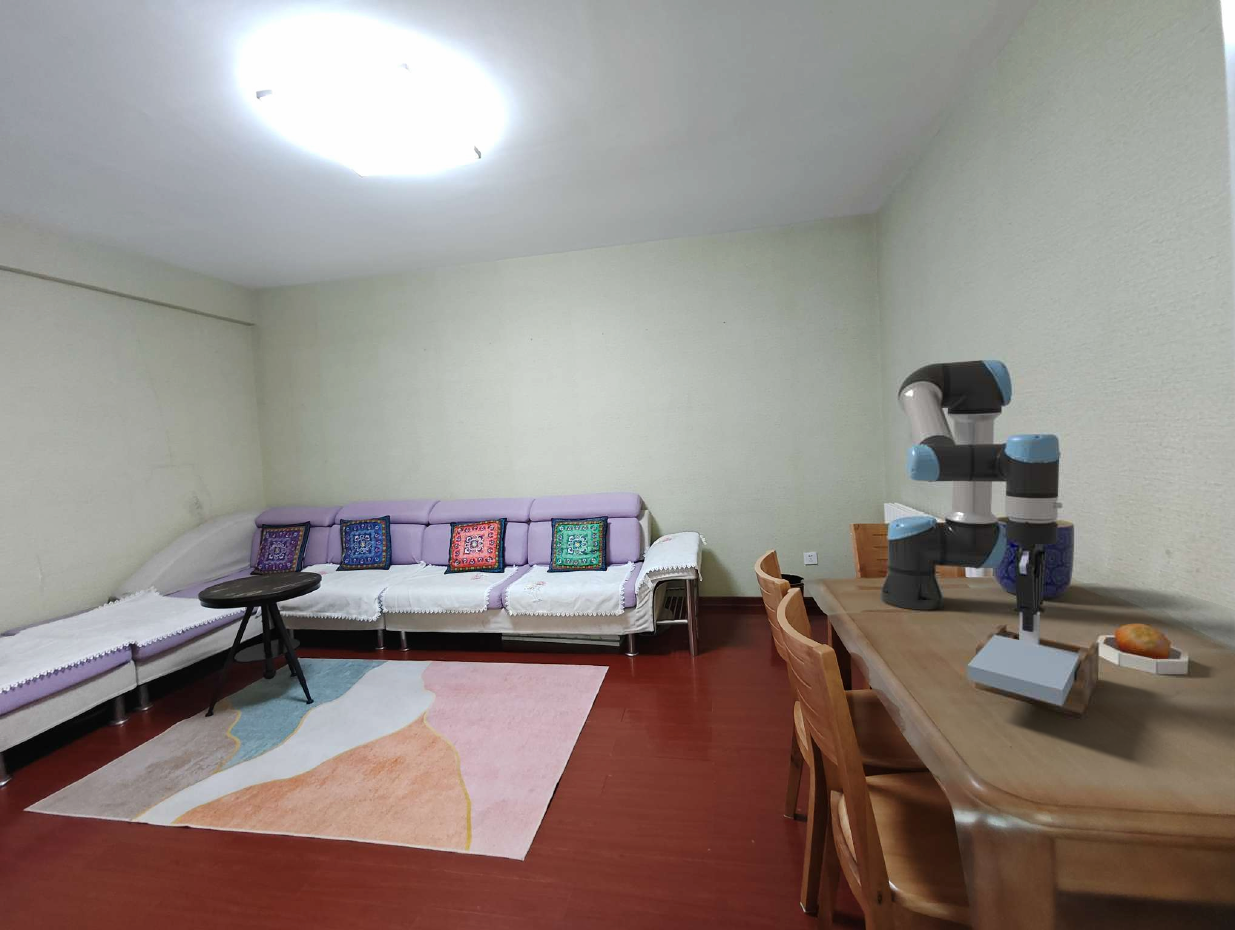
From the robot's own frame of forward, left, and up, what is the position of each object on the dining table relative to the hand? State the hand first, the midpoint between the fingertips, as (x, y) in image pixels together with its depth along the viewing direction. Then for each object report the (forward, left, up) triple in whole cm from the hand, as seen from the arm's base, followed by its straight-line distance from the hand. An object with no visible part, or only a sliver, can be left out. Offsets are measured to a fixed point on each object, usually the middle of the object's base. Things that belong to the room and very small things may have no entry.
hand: (1029, 646), depth 98 cm
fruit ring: (+13, +29, -8) cm, 33 cm away
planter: (-12, +67, -8) cm, 69 cm away
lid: (+1, -9, -2) cm, 9 cm away
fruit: (+13, +29, -8) cm, 33 cm away
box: (+1, +2, -8) cm, 8 cm away
